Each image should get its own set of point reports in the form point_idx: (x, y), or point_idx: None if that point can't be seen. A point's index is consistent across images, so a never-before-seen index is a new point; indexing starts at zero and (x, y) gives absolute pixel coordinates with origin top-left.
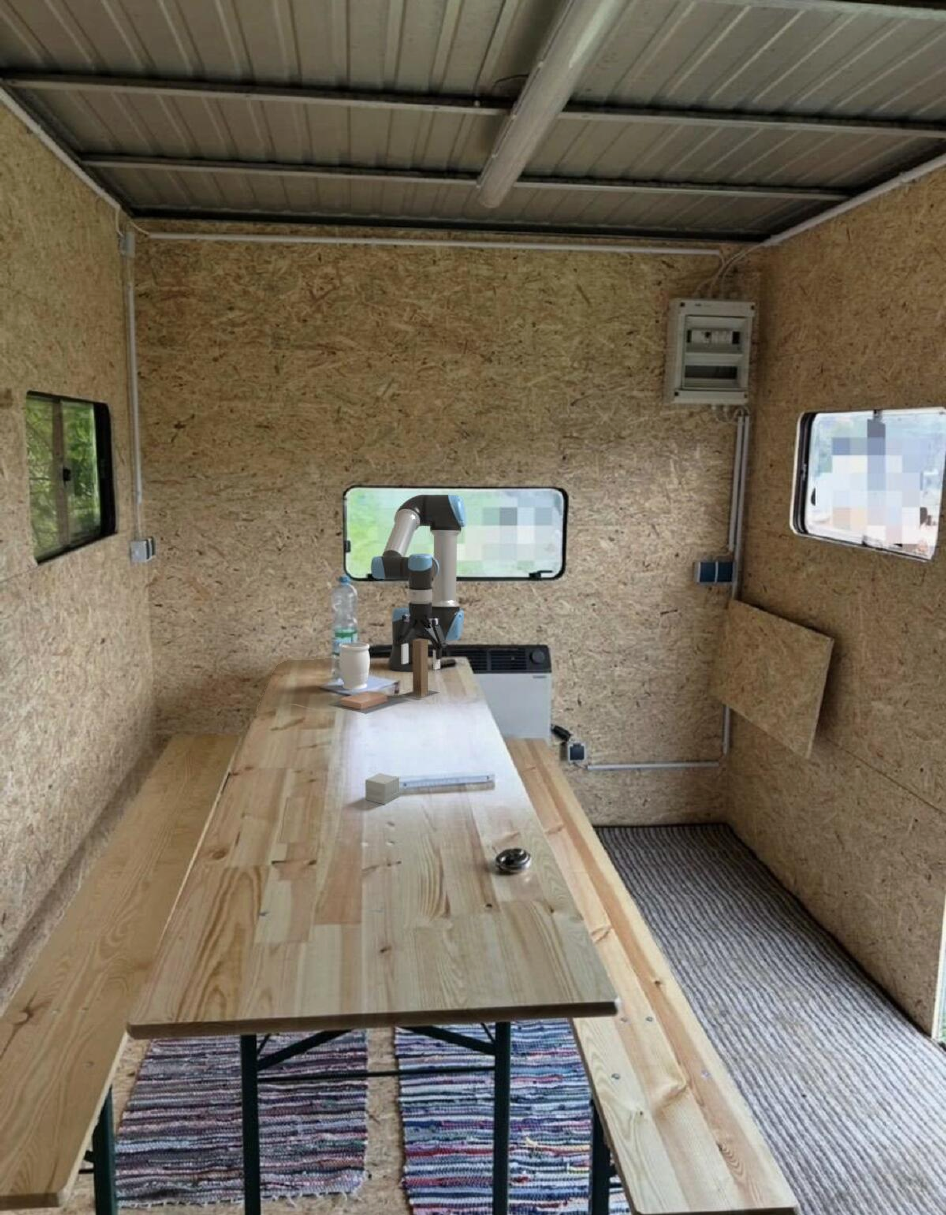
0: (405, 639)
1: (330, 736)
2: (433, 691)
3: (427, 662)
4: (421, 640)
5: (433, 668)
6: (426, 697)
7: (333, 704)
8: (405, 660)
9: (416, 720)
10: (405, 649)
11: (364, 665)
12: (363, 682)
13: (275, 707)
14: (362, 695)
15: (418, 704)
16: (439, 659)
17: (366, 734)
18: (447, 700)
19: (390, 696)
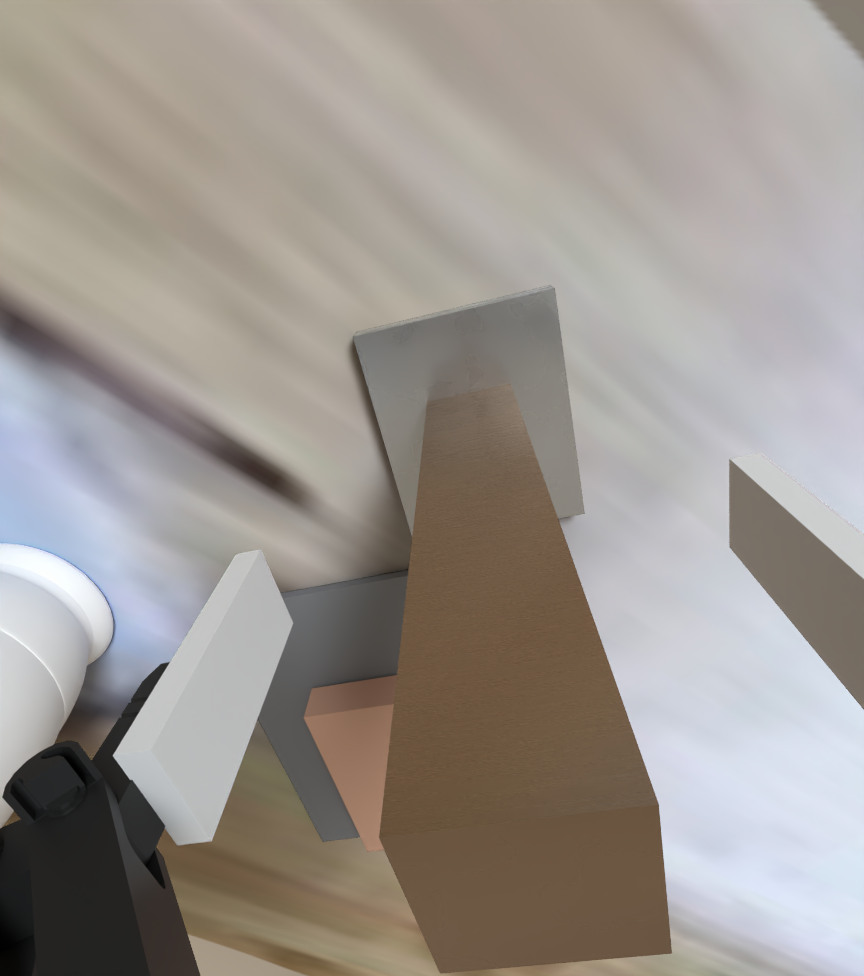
0: (169, 915)
1: (686, 961)
2: (497, 311)
3: (553, 511)
4: (608, 913)
5: (741, 552)
6: (574, 447)
7: (340, 827)
8: (269, 615)
9: (834, 714)
10: (220, 727)
11: (15, 737)
12: (76, 625)
13: (227, 932)
14: (381, 770)
15: (621, 547)
16: (833, 524)
17: (778, 901)
18: (712, 338)
19: (379, 590)
